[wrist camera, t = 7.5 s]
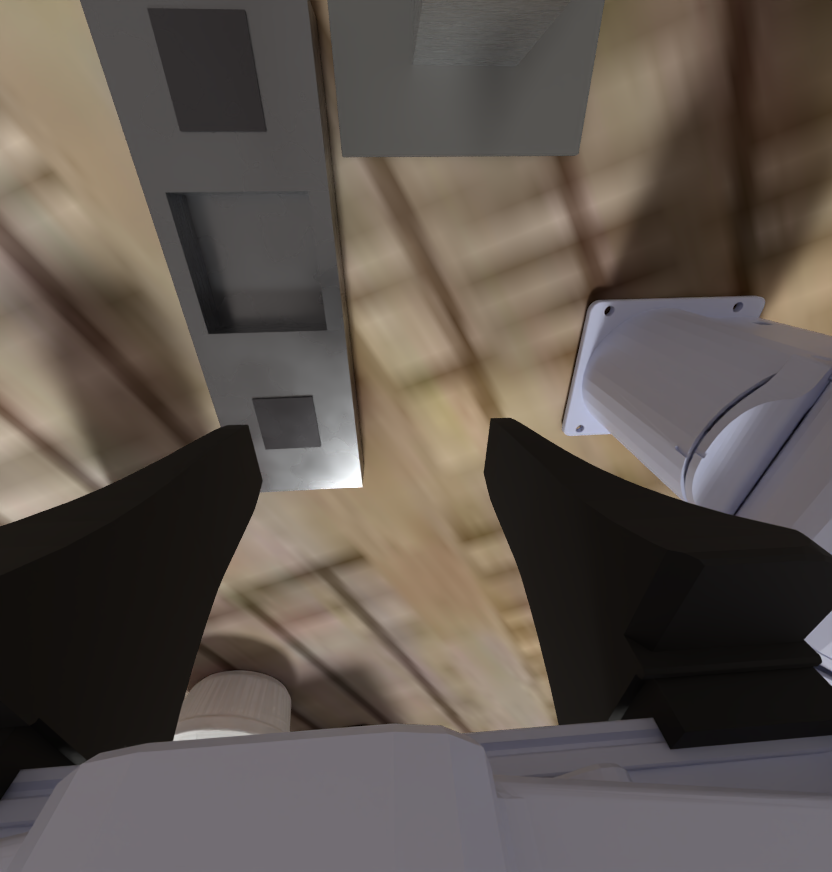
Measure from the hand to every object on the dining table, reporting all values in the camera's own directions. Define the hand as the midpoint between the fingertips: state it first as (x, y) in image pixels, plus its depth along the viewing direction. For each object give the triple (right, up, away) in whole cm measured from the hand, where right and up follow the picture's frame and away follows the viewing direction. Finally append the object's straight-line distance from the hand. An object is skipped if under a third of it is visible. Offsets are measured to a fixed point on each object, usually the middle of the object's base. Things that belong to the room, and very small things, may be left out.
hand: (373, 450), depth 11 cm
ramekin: (-16, -25, +26) cm, 40 cm away
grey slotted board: (-6, +7, +7) cm, 11 cm away
